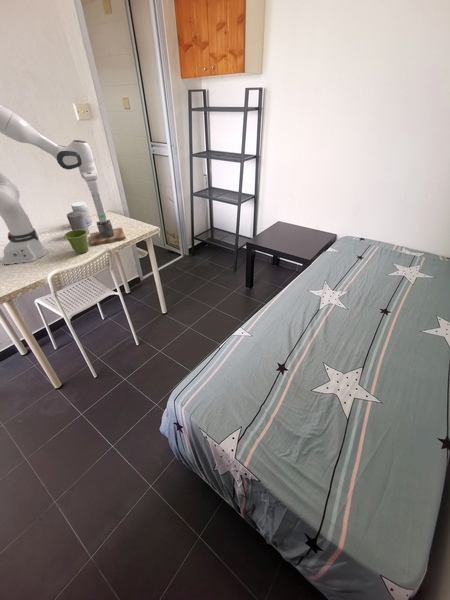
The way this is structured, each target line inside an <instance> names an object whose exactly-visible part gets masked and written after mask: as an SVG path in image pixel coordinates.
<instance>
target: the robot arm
mask: <svg viewBox="0 0 450 600" xmlns="http://www.w3.org/2000/svg"><path fill="white" fill-rule="evenodd" d="M0 134H3V135H4V136H6V137H8V138H9V139H12V140H14V141H16V142H19V143H22V144H29V145H33V146H35V147H37V148H38V149H41V150H42V151H44V152H46V153H47V154H49V155H51V156H52V157H53V158H54V160H56V161H57V163H58V166H60V167H61V168H62V169H63V170H68V171H70V170H73V169H77V168H78V169H79V174H80V177H81V178H82V179H83V180H84V181H85V182H86V184H87V187H88V190H89V189H90V190H89V192H90V194H91V196H92V195H94V198H95V200H98V196H97V194H98V192H99V187H98V182H97V179H98V176H99V173H98V170H97V166H96V164H95V162H94V161H95V160H94V155H93V152H92V148H91V146H90V144H89V143H88V142H87V141H85V140H81V139H74V140H71V142H70V143H69V144H68V145H67V146H65V145H61V144H57V143H55V142H54V141H52V140H51V139H49V138H47V137H46V136H44V135H43V134H41V133H39V132H38V131H37V130H36V129H35V128H34V127H33V126H32V125H30V124H29V122H27V121H26V120H25V119H23V118H22V117H21V116H19V115H18V114H16V113H15V112H13V111H12V110H10V109H8V108H7V107H5V106H3V105H1V104H0ZM20 196H21V195H20V191H19V189H18V187H17V186H16V185H15V184H14V183H12V181H11V180H10V179H9V178H8V177H7V176H6V175H5V173H3V172H2V171H1V170H0V217H1V219H2V220H3V222H4V223H5V225H6V227H7V229H8V233H7V239H8V241H9V242H7V244H6V245H5V247H4V248H3V257H2V258H1V263H2V264H3V265H4V264H5V265H4V266H7V265H6V264H9V265H15V264H14V263H17V264H24V263H23V262H25V263H30V262H35V261H36V260H37V259H39V258H42V257H43V256H45V255H46V254H47V253H48V251H47V249H46V248H45V246H44V245H43V243H42V242H41V241H40V239H39V236H38V233H37V231H36V229H35V228H34V227H33V225H32V223H31V221H30V217H29V216H28V214H27V213H26V212H25V210H24V208H23V207H22V205H21V203H20Z"/></svg>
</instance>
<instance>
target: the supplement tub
mask: <svg viewBox="0 0 450 600" xmlns="http://www.w3.org/2000/svg"><path fill="white" fill-rule="evenodd" d="M70 206H71V209H72V212H75V211H81V212H83V215H84V218H85V221H86V223H87V227H89V226H91V225H92V223H93V222H92V221H93V220H92V218H91V215H90V212H89V209H88V205H87V203H86V202H85V201H77V202H73V203H72V204H71V205H70Z"/></svg>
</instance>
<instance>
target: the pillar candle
mask: <svg viewBox="0 0 450 600" xmlns="http://www.w3.org/2000/svg"><path fill="white" fill-rule="evenodd" d="M66 218H67V221H68V223H69V225H70V228H71V229H70V230H71V231H72V230H78V229H82V230H86V231H87V235H90V230H89V226H87V223H86V221H85V218H84V215H83V212H81V211H75V212H73V211H70V212H68V213H67V214H66Z"/></svg>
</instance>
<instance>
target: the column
mask: <svg viewBox="0 0 450 600" xmlns="http://www.w3.org/2000/svg"><path fill="white" fill-rule="evenodd" d="M88 190H89V191H90V189H89V188H88ZM97 196H98V200H95V198H94V195H92V194H91V197H92V201H93V204H94V207H95V210H96V213H97V218H98V221H100V224H103V223H106V224H107V220H108V219H107V217H106V213H105V211H104V208H103V202H102V200H101V197H100V193H99V191H98V194H97Z"/></svg>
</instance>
